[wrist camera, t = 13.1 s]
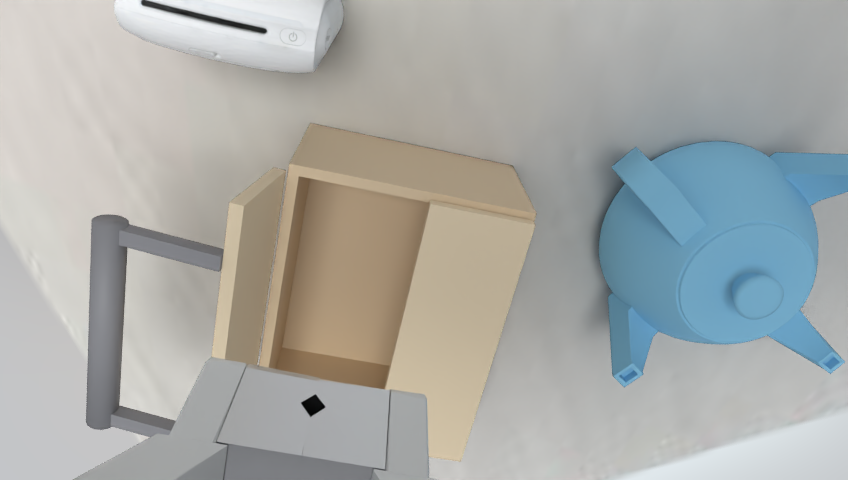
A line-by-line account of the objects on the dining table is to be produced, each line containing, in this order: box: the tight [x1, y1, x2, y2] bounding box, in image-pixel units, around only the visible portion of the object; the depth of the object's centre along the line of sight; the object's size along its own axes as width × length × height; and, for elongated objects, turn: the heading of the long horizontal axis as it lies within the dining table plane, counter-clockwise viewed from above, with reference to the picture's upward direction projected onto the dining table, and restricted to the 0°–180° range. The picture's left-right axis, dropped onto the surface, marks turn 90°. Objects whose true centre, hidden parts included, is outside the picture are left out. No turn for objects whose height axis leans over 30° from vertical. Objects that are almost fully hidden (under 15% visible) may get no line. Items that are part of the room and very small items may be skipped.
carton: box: [259, 123, 537, 462], centre depth 44 cm, size 14×18×10 cm
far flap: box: [86, 167, 286, 437], centre depth 36 cm, size 7×17×7 cm
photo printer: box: [114, 0, 344, 73], centre depth 35 cm, size 10×4×12 cm, turn 77°
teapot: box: [599, 141, 848, 387], centre depth 43 cm, size 15×15×11 cm
